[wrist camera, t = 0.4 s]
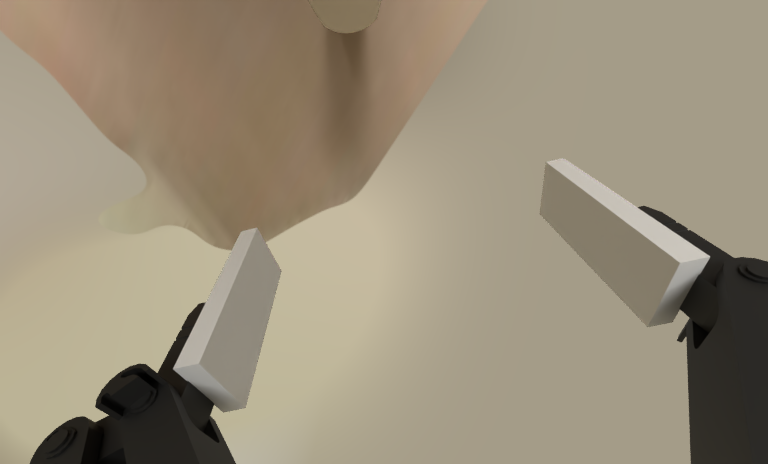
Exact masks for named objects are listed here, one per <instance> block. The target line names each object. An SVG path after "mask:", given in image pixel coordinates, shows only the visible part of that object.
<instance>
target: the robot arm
mask: <svg viewBox="0 0 768 464" xmlns="http://www.w3.org/2000/svg"><path fill="white" fill-rule="evenodd" d="M540 215H541V216H542V217H543V218H544V219H545V220H546V221H547V222H548V223H549V224H550V225H551V226H552V227H553V228H554V230H555V231H556V232H557V233H559V235H560V236H561V237H562V238H563V239H564V240H565V241H566V242H567V243H568V244H569V245H570V246H571V247H572V248H573V249H574V251H576V252H577V254H578V255H579V256H580V257H581V258H582V259H583V260H584V261H585V262H586V263H587V264H588V265H589V266H590V267H591V268H592V269H593V270H594V271H595V273H597V275H598V276H599V277H600V278H601V279H602V280H603V281H604V282H605V283H606V284H607V285H608V286H609V287H610V288H611V289H612V290H613V291H614V292H615V293H616V295H617V296H618V297H619V298H620V299H621V300H622V301H623V302H624V303H625V304H626V305H627V306H628V307H629V308H630V309H631V310H632V311H633V312H634V313H635V314H636V315H637V316H638V318H639V319H640V320H641V321H642V322H643V323H644V324H645V325H646V326H647V327H651V326H655V325H661V324H666V323H670V322H673V320H674V319H675V317H676V315H677V314H678V312H679V310H682V311H683V312H684V313H685V314H686V315H687V316H688V317H689V318H690V319H689V320H688V322H687V323H686V325H685V327H684V328H683V330H682V332H681V333H680V335H679V337H678V339H677V341H679V342H682V341H683V340H684V338H685V337H686V336H687V364H688V393H689V422H690V451H691V464H768V262H767V261H763V260H759V259H755V258H744V257H740V258H733V257H732V256H730V255H729V254H727V253H726V252H724V251H722V250H721V249H719V248H718V247H716V246H714V245H713V244H711V243H710V242H708V241H707V240H705V239H703V238H702V237H700V236H698V235H697V234H696V233H694V232H692V231H691V230H689V231H688V230H687V228H686V227H684V226H683V225H681V224H679V223H676V221H675V220H673V219H672V218H670V217H669V216H667V215H665V214H664V213H662V212H660V211H657V210H654V209H651V208H649V207H646V206H641V207H636V206H634V205H633V204H631V203H630V202H628V201H627V200H625V199H624V198H622V197H621V196H619V195H618V194H616V193H615V192H613V191H612V190H610V189H609V188H607V187H606V186H604V185H603V184H601V183H600V182H599V181H597V180H596V179H594V178H593V177H591V176H590V175H588V174H586V173H585V172H584V171H582V170H581V169H579V168H578V167H576V166H575V165H573V164H572V163H570V162H569V161H567V160H565V159H564V158H561V159H557V160H553V161H548V162H546V165H545V174H544V182H543V191H542V199H541V207H540ZM280 274H281V269H280V267H279V266H278V264H277V262H276V260H275V258H274V257H273V255H272V253H271V251H270V249H269V248H268V246H267V244H266V242H265V241H264V239H263V237H262V235H261V233H260V232H259V230H258V228H253V229H249V230H245V231H241V233H240V235H239V237H238V239H237V241H236V243H235V245H234V247H233V249H232V251H231V253H230V255H229V257H228V259H227V261H226V263H225V265H224V267H223V269H222V271H221V273H220V275H219V277H218V279H217V281H216V283H215V285H214V287H213V289H212V291H211V293H210V295H209V297H208V299H207V301H206V302H205V303H201V304H198V305H197V307H196V308H195V309H194V310H193V311H192V312H191V313H190V314H189V315H188V317H187V319H186V321H185V323H184V324H183V326H182V330H181V331H180V332H179V334H178V336H177V337H176V341H174V343H173V345H172V347H171V349H170V351H169V352H168V354H167V356H166V358H165V360H164V362H163V364H162V366H161V368H160V369H159V371H158V373H156V372H155V371H154V370H152V369H151V368H150V367H149V366H147V365H146V364H137V365H133V366H130V367H128V368H127V369H125V370H123V371H122V372H120V373H118V374H117V375H116V376H115V377H114V378H112V379H111V380H110V381H109V382H108V383H107V384H106V386H105V387H104V388H103V389H102V390H101V393H100V394H99V396H98V398H97V400H96V406H95V407H96V408H98V409H99V410H101V411H103V412H104V413H106V414H108V415H109V416H107V417H105V418H103V419H101V420H99V421H97V422H93V421H92V420H90V419H88V418H86V417H76V418H73V419H71V420H69V421H67V422H65V423H64V424H62V425H61V426H59V427H58V428H56V429H55V430H54V431H53V432H52V433H51V434H50V435H49V436H48V437H47V438H45V440H44V441H43V442H42V444H41V445H40V446H39V447H38V449H37V450H36V452H35V454H34V455H33V457H32V459H31V462H30V464H236V463H235V461H234V459H233V457H232V455H231V453H230V450H229V448H228V446H227V444H226V442H225V440H224V438H223V436H222V434H221V432H220V430H219V428H218V426H217V424H216V422H215V421H214V419H213V418H212V417H211V416H210V414H211V411H212V409H213V406H214V405H215V406H216V407H218V408H219V409H220V410H221V411H222V412H227V411H233V410H237V409H242V408H245V407H246V404H247V400H248V396H249V392H250V388H251V384H252V381H253V377H254V373H255V369H256V365H257V362H258V358H259V354H260V350H261V347H262V342H263V339H264V335H265V331H266V328H267V324H268V320H269V316H270V312H271V308H272V305H273V301H274V297H275V293H276V290H277V286H278V281H279V278H280Z"/></svg>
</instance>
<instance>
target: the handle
mask: <svg viewBox="0 0 768 464" xmlns="http://www.w3.org/2000/svg"><path fill="white" fill-rule="evenodd" d="M308 2H309V4H310V5H311V7H312V8H313V10H314V12H315V13H316V15H317V17H318V18H319V20H320V21H321V23H322V24H323V26H324V27H326V28H327V29H329V30H332V31H334V32H338V33H354V32H358V31H361V30H363V29H365V28H367V27H368V26H369V25H371V24H372V23H373V22H374V21H375V20H376V18H377V15H378V11H379V8H380V4H381V0H308Z"/></svg>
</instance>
